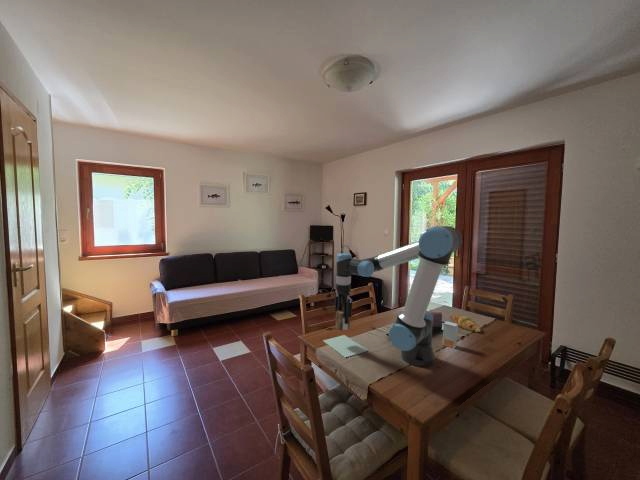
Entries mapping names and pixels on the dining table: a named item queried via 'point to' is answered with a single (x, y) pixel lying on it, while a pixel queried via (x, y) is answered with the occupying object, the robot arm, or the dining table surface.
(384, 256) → the robot arm
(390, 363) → the dining table surface
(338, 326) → the walnut block
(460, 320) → the croissant
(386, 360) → the dining table surface
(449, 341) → the skincare box
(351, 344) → the mat
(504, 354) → the dining table surface
